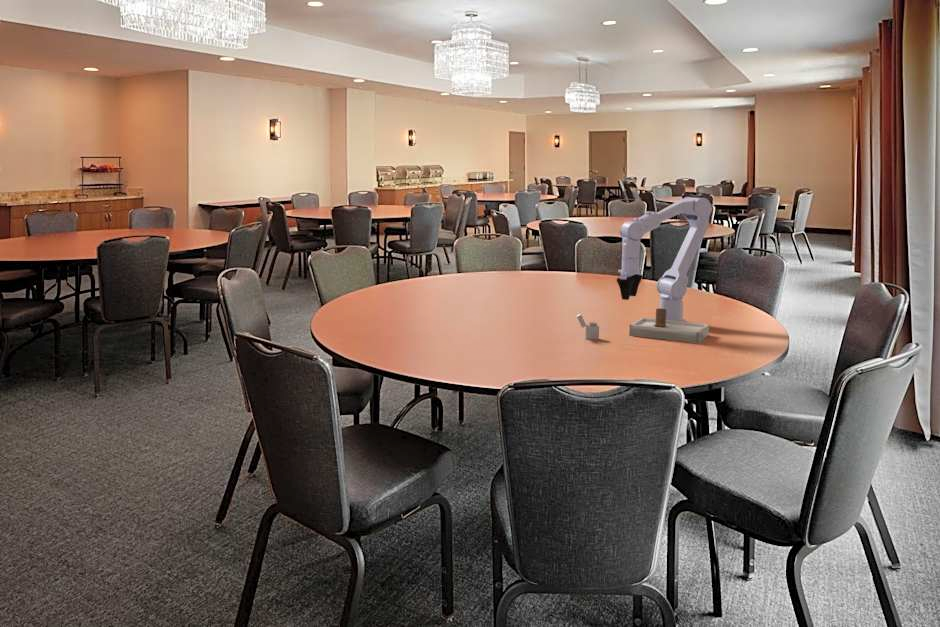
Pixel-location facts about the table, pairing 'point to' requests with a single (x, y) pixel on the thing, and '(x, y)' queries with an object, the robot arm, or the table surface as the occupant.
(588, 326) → the lighter
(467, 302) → the table surface
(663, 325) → the peg
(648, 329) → the box
